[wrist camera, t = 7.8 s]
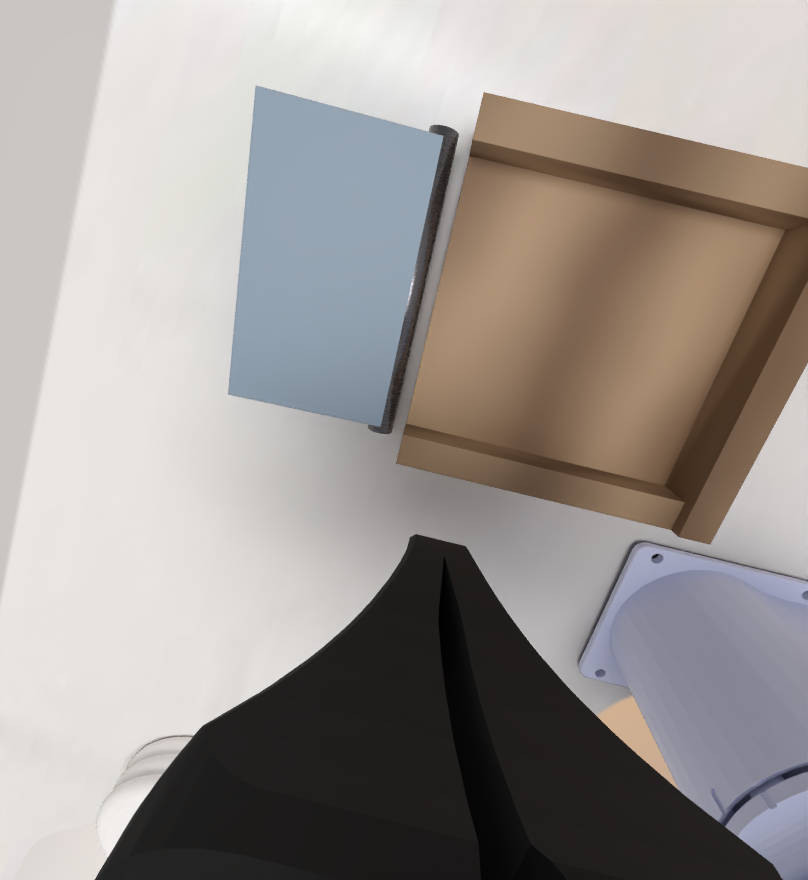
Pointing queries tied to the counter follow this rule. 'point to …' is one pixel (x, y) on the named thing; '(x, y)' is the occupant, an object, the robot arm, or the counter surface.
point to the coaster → (134, 788)
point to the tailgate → (334, 256)
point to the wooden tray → (612, 318)
